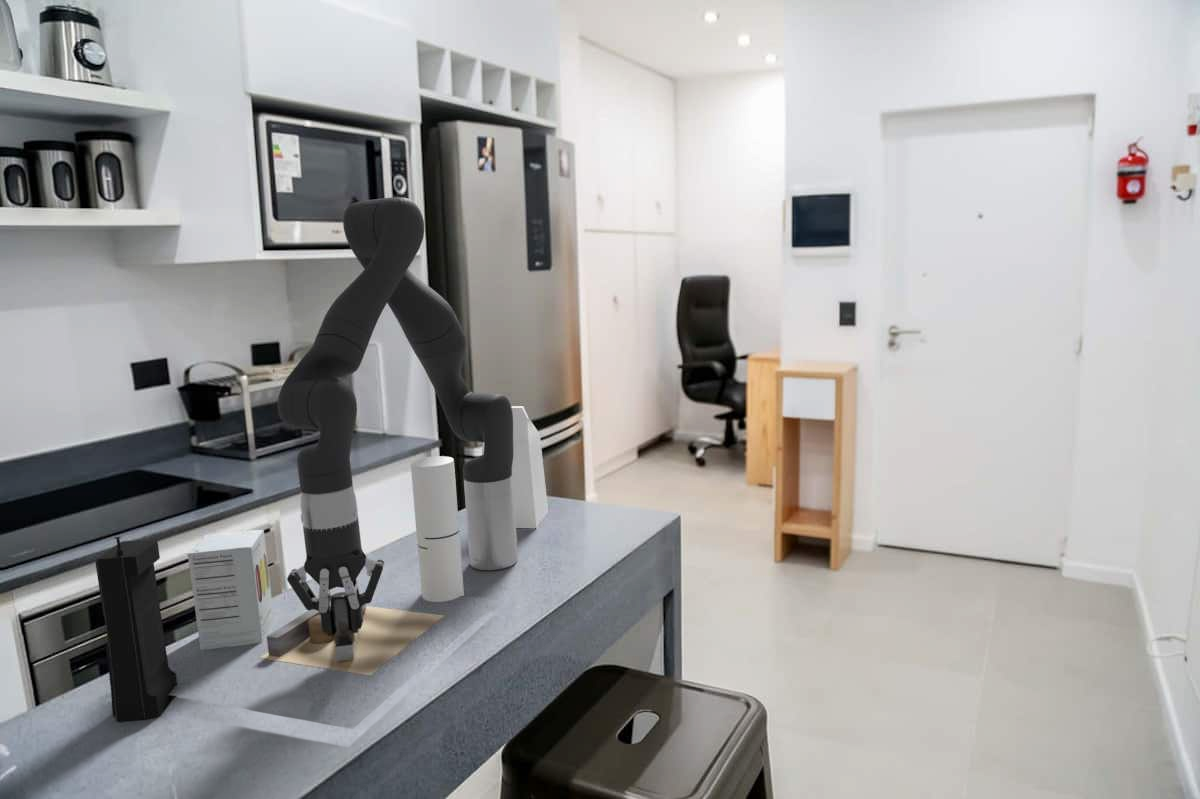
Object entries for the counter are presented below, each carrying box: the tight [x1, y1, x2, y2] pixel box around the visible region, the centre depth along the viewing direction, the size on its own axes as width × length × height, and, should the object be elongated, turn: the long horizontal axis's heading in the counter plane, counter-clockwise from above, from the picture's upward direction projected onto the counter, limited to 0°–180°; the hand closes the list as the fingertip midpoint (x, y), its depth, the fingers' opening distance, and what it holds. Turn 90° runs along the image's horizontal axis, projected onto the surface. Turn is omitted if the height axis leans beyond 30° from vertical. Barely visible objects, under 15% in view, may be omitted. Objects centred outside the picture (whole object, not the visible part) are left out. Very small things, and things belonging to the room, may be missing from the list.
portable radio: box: [95, 536, 178, 722], centre depth 111 cm, size 8×6×25 cm
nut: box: [308, 615, 334, 644], centre depth 127 cm, size 4×4×3 cm
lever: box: [330, 591, 367, 661], centre depth 128 cm, size 19×4×9 cm, turn 12°
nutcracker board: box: [259, 605, 445, 676], centre depth 128 cm, size 20×20×4 cm
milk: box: [481, 405, 549, 529], centre depth 184 cm, size 12×12×26 cm
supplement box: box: [187, 529, 275, 650], centre depth 130 cm, size 10×9×17 cm
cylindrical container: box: [410, 455, 465, 603], centre depth 141 cm, size 7×7×25 cm
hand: (343, 631), depth 120 cm, fingers closed on lever, 3 cm apart
